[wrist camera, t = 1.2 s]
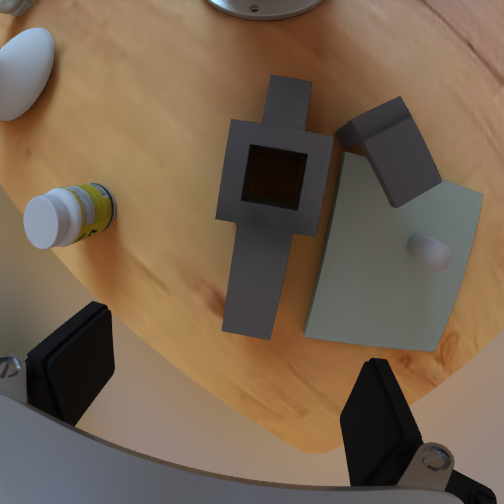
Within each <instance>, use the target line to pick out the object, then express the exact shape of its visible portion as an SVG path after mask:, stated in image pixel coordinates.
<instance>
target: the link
mask: <svg viewBox="0 0 504 504" xmlns="http://www.w3.org/2000/svg"><path fill="white" fill-rule="evenodd" d="M311 87H312V82H310V81H305V80H299V79H294V78H288V77H281V76H275V75H271V77H270V83H269V89H268V94H267V100H266V106H265V112H264V117H263V123H256V122H249V121H241V120H234V119H231V124H230V130H229V135H228V141H227V147H226V153H225V159H224V165H223V172H222V178H221V184H220V191H219V198H218V204H217V211H216V218H215V219H218V220H224V221H230V222H236V223H238V225H237V231H236V238H235V244H234V250H233V257H232V264H231V270H230V277H229V284H228V290H227V297H226V304H225V311H224V318H223V325H222V331H225V332H230V333H235V334H240V335H245V336H250V337H256V338H261V339H267V340H270V339H271V334H272V330H273V325H274V321H275V316H276V312H277V307H278V303H279V298H280V293H281V289H282V284H283V279H284V274H285V270H286V265H287V260H288V255H289V250H290V245H291V240H292V235H293V233H297V234H302V235H307V236H312V237H316V232H317V227H318V222H319V217H320V212H321V207H322V202H323V197H324V192H325V186H326V181H327V176H328V170H329V164H330V159H331V153H332V147H333V141H334V137H332V136H327V135H322V134H318V133H313V132H308V131H304V130H305V124H306V118H307V112H308V106H309V99H310V93H311ZM257 151H261V152H267V153H273V154H279V155H285V156H290V157H295V158H301V164H300V170H299V175H298V181H297V186H296V192H295V197H294V202H290V201H285V200H280V199H274V198H268V197H263V196H257V195H251V194H250V190H251V184H252V178H253V172H254V166H255V160H256V154H257Z"/></svg>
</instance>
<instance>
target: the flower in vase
mask: <svg viewBox="0 0 504 504" xmlns="http://www.w3.org/2000/svg"><path fill="white" fill-rule="evenodd" d="M53 61H54V42H53V39H52V36H51V34H50V33H49V31H47V30H46V29H44V28H32V29H28V30H25V31H23V32H21V33H20V34H18V35H17V36H15V37H14V38H12V39H11V40H10V41H9V42H8V43H6V44H5V45H4V46H3V47H2V48H1V49H0V119H1V120H3V121H11V120H14V119H16V118H18V117H19V116H21V115H22V114H23V113H25V112H26V111H27V110H28V109H29V108H30V107H31V106H32V105H33V104H34V102H35V101H36V100H37V98H38V97H39V96H40V94H41V92H42V91H43V89H44V87H45V85H46V83H47V80H48V78H49V75H50V73H51V70H52V66H53Z"/></svg>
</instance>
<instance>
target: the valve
mask: <svg viewBox="0 0 504 504" xmlns="http://www.w3.org/2000/svg"><path fill="white" fill-rule="evenodd" d="M33 1H34V0H0V13H3V14H10V15H13V16H15V17H20V16H24V15H25V13H26V12H27V11H28V10H29V9H30V8H31V6H32V5H33Z"/></svg>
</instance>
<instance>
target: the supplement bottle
mask: <svg viewBox="0 0 504 504" xmlns="http://www.w3.org/2000/svg"><path fill="white" fill-rule="evenodd" d="M115 212H116V205H115V200H114V197H113V195H112V193H111V192H110V191H109V189H108V188H107V187H105V186H104V185H102V184H98V183H90V184H83V185H75V186H67V187H60V188H55V189H52V190H50V191H49V192H47V193H46V194H44V195H40V196H36V197H34V198H32V199H31V200H30V201H29V203H28V204H27V206H26V208H25V212H24V228H25V232H26V235H27V237H28V239H29V241H30V242H31V243H32V244H33V245H34V246H35V247H37V248H39V249H49V248H51V247H55V246H58V247H64V246H68V245H70V244H73V243H75V242H78V241H80V240H82V239H85V238H87V237H90V236H92V235H95V234H97V233H100V232H102V231H104V230H106V229H107V228H108V227H109V226H110V225H111V224H112V222H113V220H114V217H115Z"/></svg>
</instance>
